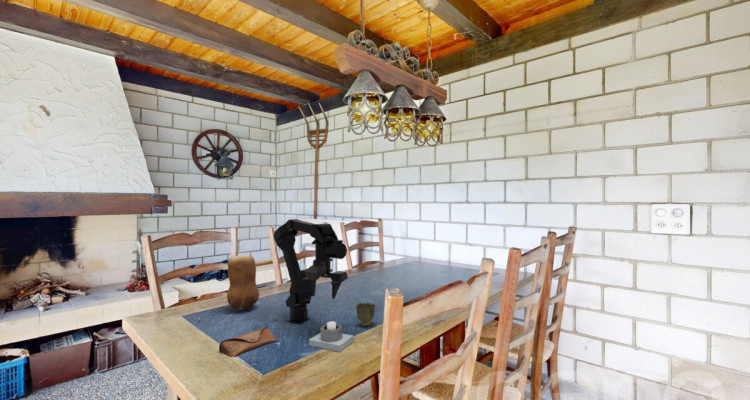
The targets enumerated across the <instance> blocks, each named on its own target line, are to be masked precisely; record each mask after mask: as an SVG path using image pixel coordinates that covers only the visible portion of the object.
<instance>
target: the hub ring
mask: <svg viewBox="0 0 750 400" xmlns="http://www.w3.org/2000/svg"><path fill="white" fill-rule="evenodd" d="M319 333H320V338H321V340H322V341H325V342H334V341H339V340H340V339H341V338H342V334H343V326H342V325H341V324H340V323H336V330H327V323H326V324H323V325H321V326H320V332H319Z"/></svg>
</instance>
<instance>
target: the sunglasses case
mask: <svg viewBox="0 0 750 400" xmlns="http://www.w3.org/2000/svg"><path fill="white" fill-rule="evenodd" d="M279 340H280V339H277V337H275V335H274V334H273V333H272V332H271V331H270V328H269V327H268V326H265V327H263V328H261V329H257V330H254V331H251V332H248V333H244V334H241V335H239V336H236V337H232V338H227V339H224V340H222V341H221V342H220V344H219V346H218V351H219V353H221V354H223V353H224V354H223V355H225V354H226V355H225V356H227V357H229V358H232V357H234V358H237V357H239V356H240V354H241V355H243V354H246V353H249V352H251V351H253V350H257V349H259V348H262V347H264V346H267V345H270V344H273V343H276V342H279ZM245 352H246V353H245ZM242 353H243V354H242ZM238 355H239V356H238Z"/></svg>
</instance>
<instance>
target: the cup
mask: <svg viewBox="0 0 750 400" xmlns="http://www.w3.org/2000/svg"><path fill="white" fill-rule="evenodd" d="M355 307H356V309H355V310H356V314H357V315H356V316H357V319H358V321H359V322H360V324H361V326H363V327H369V326H370V325H371V322H372V321H373V320H374V316H375V310H376V309H375V308H376V305H375V303H372V302H371V303H370V302H367V301H366V302H359V303H356V305H355Z"/></svg>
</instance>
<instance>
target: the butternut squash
mask: <svg viewBox="0 0 750 400" xmlns="http://www.w3.org/2000/svg"><path fill="white" fill-rule="evenodd" d="M227 276H228V280H229V287H228V290H227V293H226V297H227V298H226V299H227V303H228V305H229V306H230V308H233V309H235V310H237V311H249V310H250V309H251V308H252V307H253V306H254V305H255V304H256V303H257V302H258V301H259V298H260V291H259V288H258V286H257V281H256V276H257V267H256V261H255V258H254V256H252V255H251V254H244V255H233V256H230V258H228V260H227Z"/></svg>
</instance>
